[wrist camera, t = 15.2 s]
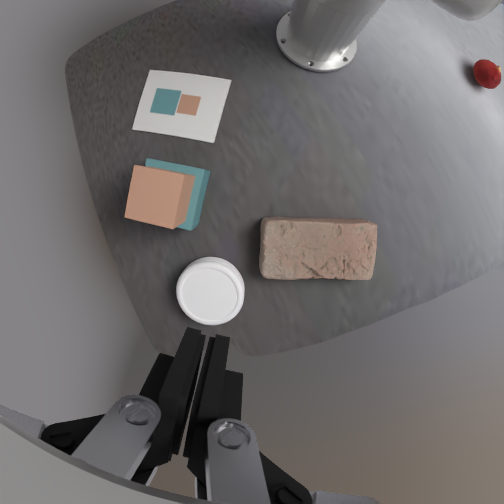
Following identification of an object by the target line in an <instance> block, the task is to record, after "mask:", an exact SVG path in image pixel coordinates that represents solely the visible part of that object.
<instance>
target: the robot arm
mask: <svg viewBox="0 0 504 504" xmlns="http://www.w3.org/2000/svg"><path fill="white" fill-rule="evenodd" d="M430 1H432V2H433V3H435V4H437V5H438V6H440V7H441V8H442V9H444V10H446V11H447V12H449V13H450V14H452V15H454V16H456V17H458V18H460V19H463V20H477V19H480V18H482V17H484V16H486V15H487V14H489V13H490V12H491V11H492V10H493V9H494V8H496V7H497V6H498V5H499V3H500V2H501V1H502V0H430ZM384 2H385V0H294V2H293V6H292V10H291V11H289V12H288V13H286V14H285V15H284V16H283V17H282V18H281V19H280V21H279V23H278V25H277V29H276V39H277V43H278V45H279V48H280V49H281V51H282V52H283V54H284V55H285V56H286V57H287V58H288V59H289V60H290V61H292V62H293V63H295V64H296V65H298V66H300V67H302V68H305V69H308V70H311V71H316V72H333V71H337V70H340V69H342V68H344V67H345V66H347V65H348V64H349V63H350V62H351V61H352V59H353V58H354V56H355V54H356V51H357V40H356V37H357V36H358V35H359V33H360V32H361V31H362V30H363V28H364V27H365V26H366V24H367V23H368V22H369V21H370V19H371V18H372V17H373V16H374V14H375V13H376V12H377V11H378V9H379V8H380V7H381V6H382V4H383V3H384ZM282 42H284V43H282ZM343 60H344V61H345V62H344V61H343ZM309 65H312V66H309ZM205 336H206V335H202V334H201V330H197V329H193V328H189V327H187V329H186V331H185V334H184V336H183V338H182V341H181V343H180V345H179V348H178V350H177V353H176V355H175V357H173V356H169V355H166V354H162V353H160V354H159V355H158V358H157V360H156V361H155V363H154V365H153V367H152V369H151V371H150V373H149V375H148V377H147V380H146V381H145V383H144V386H143V388H142V390H141V392H140V394H139V395H127V396H124V397H121V398H120V399H119V400H118V401H116V403H115V404H114V405H113V406H112V407H111V408H110V410H109V411H108V412H107V413H106V414H103V415H99V416H93V417H89V418H83V419H78V420H73V421H67V422H61V423H55V424H52V425H49V426H48V425H45V424H44V422H43V421H41V420H38V419H35V418H32V417H30V416H27V415H24V414H22V413H19V412H17V411H14V410H11V409H9V408H7V407H4V406H2V405H0V504H380V503H379V502H378V501H377V500H375V499H374V498H371V497H365V496H354V495H345V494H338V493H331V492H324V491H318V490H317V491H316V492H315V493H314V492H309V491H308V490H307V489H306V488H305V487H304V486H303V485H301V484H300V483H299V482H297V481H296V480H295V479H293V478H292V477H291V476H289V475H288V474H287V473H285V472H284V471H283V470H281V469H280V468H279V467H278V466H277V465H275V464H274V463H273V462H272V461H270V460H269V459H268V458H267V457H266V456H264V455H263V454H262V453H261V452H260V451H259V449H258V445H257V440H256V436H255V434H254V431H253V430H252V429H251V428H250V426H248V425H247V424H245V423H244V422H241V405H242V404H241V403H242V386H243V373H238V372H234V371H229V370H225V368H226V362H227V354H228V348H229V341H230V337H226V336H222V335H217V334H216V338H214V337H210V338H209V342H208V346H207V350H206V353H205V357H204V361H203V365H202V369H201V373H200V377H199V380H198V384H197V388H196V392H195V396H194V400H193V405H192V409H191V415H190V420H189V425H188V430H187V436H186V441H185V448H184V453H183V456H184V457H188V458H189V460H188V465H187V467H188V468H189V470H190V471H191V472H192V473H193V474H194V475H195V476H196V477H195V498H192V497H187V496H183V495H179V494H174V493H170V492H167V491H163V490H159V489H155V488H152V487H149V484H150V483H151V481H152V479H153V477H154V475H155V473H156V471H157V468H158V466H159V465H162V464H165V463H167V462H168V461H171V457H172V454H176V455H178V453H179V449H180V445H181V441H182V437H183V433H184V429H185V425H186V421H187V418H188V414H189V410H190V406H191V402H192V398H193V394H194V390H195V385H196V381H197V375H198V371H199V366H200V361H201V356H202V351H203V346H204V341H205Z"/></svg>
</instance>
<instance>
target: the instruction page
mask: <svg viewBox="0 0 504 504" xmlns="http://www.w3.org/2000/svg"><path fill="white" fill-rule="evenodd" d="M231 81H232V80H228V79H222V78H216V77H210V76H203V75H196V74H188V73H179V72H169V71H157V70H150V72H149V75H148V78H147V81H146V84H145V87H144V90H143V93H142V96H141V99H140V103H139V106H138V110H137V113H136V117H135V120H134V124H133V128H132V130H139V131H146V132H153V133H160V134H166V135H172V136H178V137H184V138H189V139H195V140H200V141H205V142H210V143H214V141H215V137H216V134H217V130H218V126H219V122H220V119H221V115H222V112H223V108H224V105H225V101H226V98H227V94H228V91H229V87H230V84H231Z"/></svg>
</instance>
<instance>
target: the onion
mask: <svg viewBox="0 0 504 504" xmlns="http://www.w3.org/2000/svg"><path fill="white" fill-rule="evenodd" d="M473 70H474V77H475V79H476V81H477V82H478V83H479V84H480V85H481V86H483V87H485V88H488V89H494V88H495V87H497V86H498V85H499V84H500V81H501V72H500V71H501V68H500V66H496V65H495V64H494V63H493V62H491V61H489V60H483V59H482V60H479V61H477V62H476V63H475V65H474V68H473Z"/></svg>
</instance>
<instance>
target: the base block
mask: <svg viewBox="0 0 504 504" xmlns="http://www.w3.org/2000/svg"><path fill="white" fill-rule="evenodd" d="M145 166H149V167H156V168H161V169H166V170H171V171H176V172H181V173H185V174H190V175H195V180H194V185H193V189H192V193H191V198H190V202H189V207H188V211H187V216H186V221H185V222H184V223H182V224H180V225H179V226H177V227H178V228H182V229H186V230H190V231H191V230H192V229H194V228H195V227H196V226H197V225H198V223H199V219H200V214H201V210H202V205H203V201H204V196H205V192H206V188H207V184H208V179H209V175H210V171H209V170H204V169H200V168H195V167H190V166H185V165H180V164H175V163H170V162H164V161H159V160H154V159H148V158H147V160H146V164H145Z"/></svg>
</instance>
